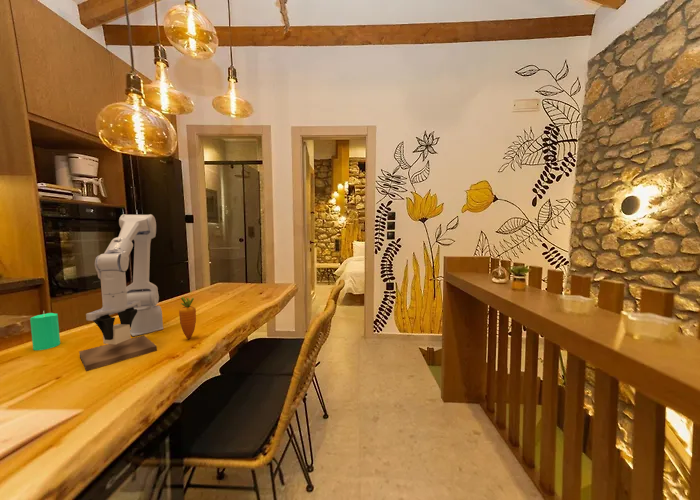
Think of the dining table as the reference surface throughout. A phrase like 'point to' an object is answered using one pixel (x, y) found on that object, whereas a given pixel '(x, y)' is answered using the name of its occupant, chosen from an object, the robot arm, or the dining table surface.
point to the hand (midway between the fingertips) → (117, 336)
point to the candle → (45, 331)
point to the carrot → (187, 317)
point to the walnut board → (116, 352)
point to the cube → (119, 334)
